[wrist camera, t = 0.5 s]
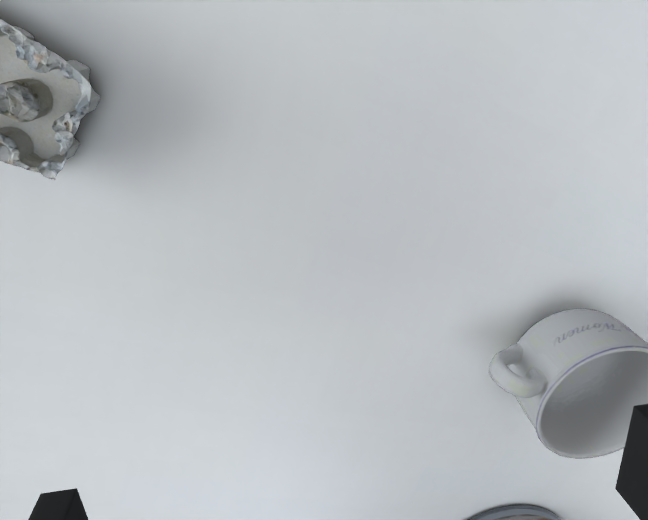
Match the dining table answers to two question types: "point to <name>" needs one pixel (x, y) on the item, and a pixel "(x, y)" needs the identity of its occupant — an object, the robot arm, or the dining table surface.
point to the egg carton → (39, 103)
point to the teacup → (577, 380)
